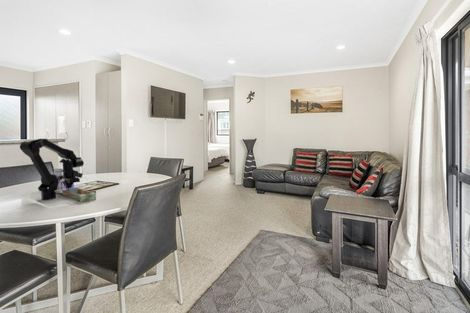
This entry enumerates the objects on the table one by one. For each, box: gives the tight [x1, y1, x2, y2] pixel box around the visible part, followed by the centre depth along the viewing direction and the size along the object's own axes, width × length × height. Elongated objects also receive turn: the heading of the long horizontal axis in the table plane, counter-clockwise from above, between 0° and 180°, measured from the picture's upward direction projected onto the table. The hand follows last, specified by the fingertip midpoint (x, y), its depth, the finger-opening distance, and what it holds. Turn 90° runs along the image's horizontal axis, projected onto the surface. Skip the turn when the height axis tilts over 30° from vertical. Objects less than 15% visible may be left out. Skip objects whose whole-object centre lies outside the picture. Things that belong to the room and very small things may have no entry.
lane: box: [61, 187, 97, 203], centre depth 167 cm, size 15×25×4 cm, turn 56°
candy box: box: [52, 166, 75, 191], centre depth 189 cm, size 14×6×16 cm, turn 179°
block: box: [65, 186, 79, 194], centre depth 170 cm, size 5×5×4 cm
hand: (69, 191), depth 172 cm, fingers closed
